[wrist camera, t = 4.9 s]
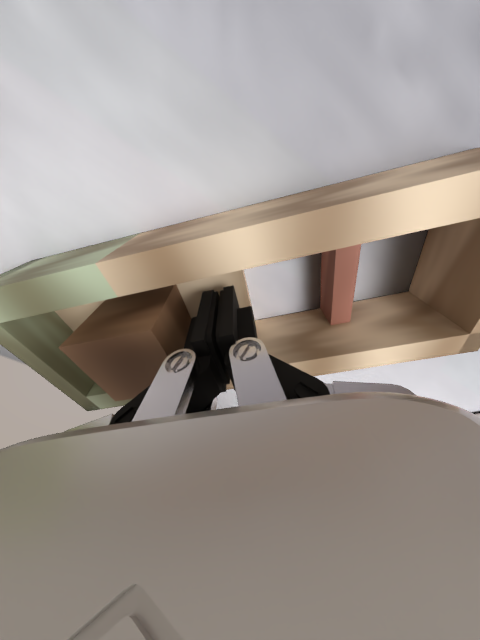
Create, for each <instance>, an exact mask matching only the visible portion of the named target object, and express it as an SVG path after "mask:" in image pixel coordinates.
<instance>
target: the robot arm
mask: <svg viewBox="0 0 480 640" xmlns="http://www.w3.org/2000/svg"><path fill="white" fill-rule="evenodd" d="M230 379H231V382H232V384H233V387H234V390H235V391H236V394H237V400H238V405H239V407H231V408H224V409H217V410H216V407H217V396H218V395H219V394H220V393H221V392H225V391H226V384H230ZM0 640H480V413H478V414H473V413H471V412H469V411H467V410H464V409H462V408H460V407H457V406H454V405H451V404H448V403H445V402H442V401H438V400H434V399H430V398H425V397H420V396H417V395H415V394H414V393H413V392H411V391H410V390H408V389H406V388H404V387H402V386H399V385H393V384H380V383H361V382H341V381H333V384H326V383H323V382H322V381H320V380H319V379H317V378H315V377H313V376H311V375H309V374H307V373H305V372H303V371H302V370H300V369H298V368H296V367H294V366H292V365H290V364H288V363H286V362H284V361H282V360H280V359H278V358H276V357H274V356H272V355H270V354H268V352H267V350H266V348H265V345H264V344H263V342H262V341H261V340H259V339H258V338H257V331H256V325H255V320H254V315H253V310H252V306H248V307H243V308H239V304H238V300H237V296H236V292H235V288H234V285H232V286H227V287H223V290H221V291H220V295H219V294H218V292H217V291H216V292H214V290H208V291H203V292H202V296H201V300H200V304H199V308H198V313H197V316H196V317H193V318H192V319H191V323H190V326H189V330H188V334H187V337H186V341H185V344H184V348H183V349H180V350H177V351H175V352H173V353H171V354H170V355H169V356H168V357H167V358H166V359H165V360H164V361H163V363H162V365H161V367H160V369H159V371H158V373H157V374H156V376H155V378H154V380H153V382H152V384H151V385H150V386H148V387H147V388H146V389H145V390H143V391H142V392H141V393H140V394H138V395H137V396H136V397H135V398H133V399H132V400H131V401H130V402H128V403H127V404H126V405H125V406H123V407H122V408H121V409H120V410H119V411H118V412H117V413H116V414H115V415H113V414H110V415H107V416H105V417H102V418H99V419H96V420H94V421H91V422H88V423H86V424H83V425H80V426H78V427H75V428H72V429H69V430H67V431H65V432H62V433H56V434H52V435H47V436H43V437H38V438H34V439H30V440H27V441H24V442H20V443H17V444H14V445H11V446H9V447H6V448H3V449H0Z"/></svg>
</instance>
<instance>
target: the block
mask: <svg viewBox="0 0 480 640" xmlns="http://www.w3.org/2000/svg"><path fill="white" fill-rule="evenodd" d="M190 323H191V316H190V314H189V312H188V310H187V307H186V305H185V303H184V301H183V298H182V296H181V294H180V292H179V289H178V287H177V285H171V286H167V287H162V288H157V289H153V290H148V291H144V292H139V293H135V294H130V295H125V296H121V297H116V298H112V299H107V300H105V301H104V302H103V303H102V304H101V305H100V306H99V307H98V308H97V309H96V310H95V311H94V312H93V313H92V314H91V315H90V316H89V317H88V318H87V319H86V320H85V321H84V322H83V323H82V324H81V325H80V326H79V327H78V328H77V329H76V330H75V331H74V332H73V333H72V334H71V335H70V336H69V337H68V338H67V339H66V340H65V341H64V342H63V343H62V344H61V345H60V346H59V347H58V348H59V349H60V350H61V351H62V352H63V353H64V354H66V355H67V356H68V357H69V358H70V359H71V360H72V361H73V362H74V363H75V364H76V365H77V366H78V367H79V368H80V369H81V370H83V371H84V372H85V373H86V374H87V375H88V376H89V377H90V378H91V379H92V380H93V381H94V382H95V383H96V384H97V385H99V386H100V387H101V388H102V389H103V390H104V391H105V392H106V393H107V394H108V395H109V396H110V397H111V398H112V399H113V400H114V401H122V400H128V399H133V398H135V397H136V396H137V395H138V394H140V393H141V392H142V391H143V390H145V389H146V388H147V387H148V386H150V385H151V384H152V382H153V380H154V378H155V376H156V374H157V373H158V371H159V369H160V367H161V365H162V363H163V361H164V360H165V359H166V358H167V357H168V356H169V355H170V354H171V353H173V352H175V351H177V350H180V349H183V348H184V344H185V341H186V337H187V334H188V330H189V326H190Z"/></svg>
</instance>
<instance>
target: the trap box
mask: <svg viewBox="0 0 480 640" xmlns="http://www.w3.org/2000/svg"><path fill="white" fill-rule="evenodd" d="M427 229H429V230H428V233H427V236H426V239H425V242H424V245H423V249H422V252H421V255H420V258H419V261H418V264H417V267H416V270H415V273H414V276H413V279H412V282H411V285H410V288H409V291H408V292H403V293H398V294H392V295H387V296H382V297H376V298H371V299H366V300H361V301H355V302H353V298H354V291H355V284H356V277H357V270H358V263H359V256H360V249H361V244H363V243H368V242H372V241H377V240H381V239H386V238H390V237H395V236H400V235H404V234H409V233H413V232H418V231H422V230H427ZM317 253H321V291H320V308H318V309H313V310H308V311H303V312H297V313H292V314H287V315H282V316H276V317H271V318H266V319H261V320H255V319H254V320H255V325H256V331H257V338H258V339H259V340H261V341H262V342H263V344H264V345H265V348H266V350H267V352H268V354H270V355H272V356H274V357H276V358H278V359H280V360H282V361H284V362H286V363H288V364H290V365H292V366H294V367H296V368H298V369H300V370H302V371H303V372H305V373H307V374H309V375H311V376H318V375H324V374H331V373H337V372H344V371H350V370H357V369H363V368H370V367H376V366H383V365H389V364H396V363H402V362H409V361H415V360H422V359H428V358H435V357H441V356H447V355H454V354H460V353H467V352H473V351H478V349H479V348H480V148H475V149H471V150H467V151H463V152H459V153H455V154H451V155H447V156H443V157H439V158H435V159H431V160H427V161H423V162H419V163H415V164H412V165H408V166H404V167H400V168H396V169H392V170H388V171H384V172H380V173H376V174H372V175H368V176H364V177H360V178H356V179H352V180H348V181H344V182H340V183H337V184H333V185H329V186H325V187H321V188H317V189H313V190H309V191H305V192H301V193H297V194H293V195H289V196H285V197H281V198H277V199H273V200H269V201H265V202H262V203H258V204H254V205H250V206H246V207H242V208H238V209H234V210H230V211H226V212H222V213H218V214H214V215H210V216H206V217H202V218H198V219H194V220H190V221H186V222H183V223H179V224H175V225H171V226H167V227H163V228H159V229H155V230H151V231H147V232H143V233H139V234H135V235H131V236H127V237H123V238H119V239H115V240H111V241H108V242H104V243H100V244H96V245H92V246H88V247H84V248H80V249H76V250H72V251H68V252H64V253H60V254H56V255H52V256H48V257H44V258H40V259H36V260H33V261H30V262H27V263H25V264H23V265H21V266H18V267H16V268H14V269H12V270H10V271H7V272H5V273H3V274H1V275H0V344H1V345H2V346H3V347H5V348H6V349H7V350H9V351H10V352H11V353H12V354H14V355H15V356H16V357H18V358H19V359H20V360H22V361H23V362H24V363H25V364H27V365H28V366H29V367H31V368H32V369H33V370H35V371H36V372H37V373H38V374H40V375H41V376H42V377H44V378H45V379H46V380H48V381H49V382H50V383H51V384H53V385H54V386H55V387H57V388H58V389H59V390H61V391H62V392H63V393H64V394H66V395H67V396H68V397H70V398H71V399H72V400H74V401H75V402H76V403H77V404H79V405H80V406H82V407H83V408H84V409H85V410H87V411H91V410H98V409H104V408H111V407H117V406H124V405H126V404H127V403H128V402H130V401H131V400H132V399H128V400H122V401H114V400H113V399H112V398H111V397H110V396H109V395H108V394H107V393H106V392H105V391H104V390H103V389H102V388H101V387H100V386H99V385H97V384H96V383H95V382H94V381H93V380H92V379H91V378H90V377H89V376H88V375H87V374H86V373H85V372H84V371H83V370H81V369H80V368H79V367H78V366H77V365H76V364H75V363H74V362H73V361H72V360H71V359H70V358H69V357H68V356H67V355H66V354H64V353H63V352H62V351H61V350H60V349H59V348H58V347H59V346H60V345H61V344H62V343H63V342H64V341H65V340H66V339H67V338H68V337H69V336H70V335H71V334H72V333H73V332H74V331H75V330H76V329H77V328H78V327H79V326H80V325H81V324H82V323H83V322H84V321H85V320H86V319H87V318H88V317H89V316H90V315H91V314H92V313H93V312H94V311H95V310H96V309H97V308H98V307H99V306H100V305H101V304H102V303H103V302H104V301H105V300H107V299H112V298H116V297H121V296H125V295H130V294H135V293H139V292H144V291H148V290H153V289H157V288H162V287H167V286H171V285H177V287H178V289H179V292H180V294H181V296H182V298H183V301H184V303H185V305H186V307H187V310H188V312H189V314H190V316H191V319H192V318H193V317H196V316H197V313H198V308H199V304H200V300H201V296H202V292H203V291H208V290H214V292H216V291H217V292H218V294H219V295H220V291H221V290H223V287H227V286H232V285H234V288H235V292H236V296H237V300H238V304H239V308H243V307H248V306H251V301H250V297H249V292H248V288H247V283H246V278H245V274H244V269H249V268H253V267H258V266H262V265H267V264H272V263H276V262H281V261H285V260H290V259H294V258H299V257H304V256H308V255H313V254H317ZM227 389H234V387H233V384H232V382H231V379H230V384H226V390H227Z"/></svg>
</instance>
